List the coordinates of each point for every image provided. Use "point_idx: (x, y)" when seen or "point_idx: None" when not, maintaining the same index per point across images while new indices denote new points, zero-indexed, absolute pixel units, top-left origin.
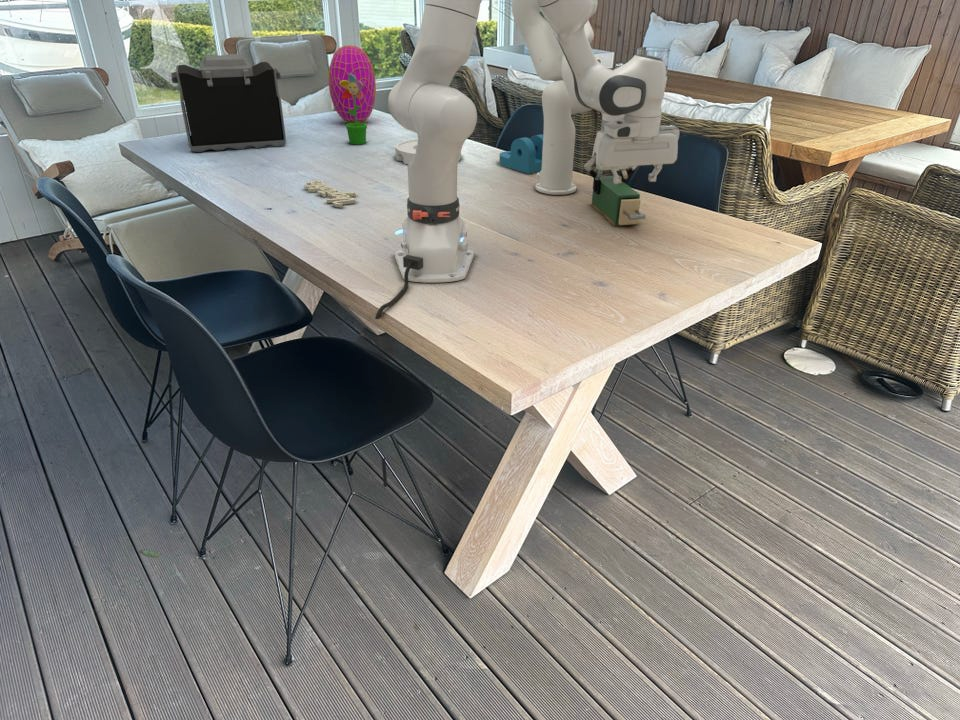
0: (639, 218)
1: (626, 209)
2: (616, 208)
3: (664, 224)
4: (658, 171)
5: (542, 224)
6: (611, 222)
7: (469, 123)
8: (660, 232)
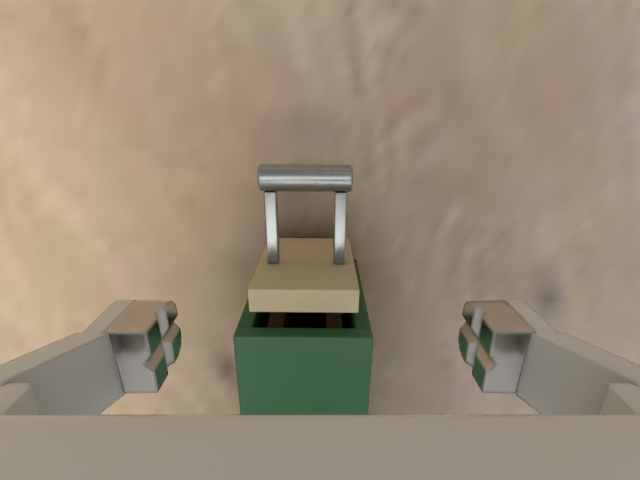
0: (295, 165)
1: (328, 267)
2: (364, 300)
3: (143, 242)
4: (37, 357)
5: (620, 323)
6: None
7: None
8: (190, 153)
